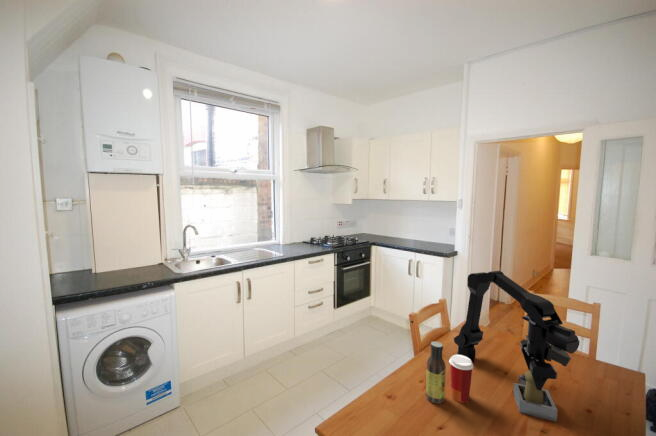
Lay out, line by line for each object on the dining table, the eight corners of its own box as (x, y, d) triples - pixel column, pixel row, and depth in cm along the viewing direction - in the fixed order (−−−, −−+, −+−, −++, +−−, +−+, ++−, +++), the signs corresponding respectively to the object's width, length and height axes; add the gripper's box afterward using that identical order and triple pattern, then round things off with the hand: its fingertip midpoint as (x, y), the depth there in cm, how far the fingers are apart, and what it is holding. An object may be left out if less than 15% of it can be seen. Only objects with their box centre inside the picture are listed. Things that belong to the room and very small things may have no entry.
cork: (537, 397, 100) (538, 367, 99) (548, 410, 94) (550, 378, 93) (519, 396, 101) (519, 367, 100) (529, 409, 95) (530, 378, 94)
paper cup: (470, 392, 104) (471, 355, 103) (473, 407, 97) (475, 368, 96) (447, 387, 107) (448, 352, 105) (448, 402, 99) (449, 363, 98)
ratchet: (519, 415, 95) (520, 401, 94) (508, 380, 112) (509, 368, 112) (556, 424, 91) (557, 410, 90) (539, 387, 108) (540, 375, 108)
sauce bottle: (445, 406, 97) (447, 350, 96) (425, 402, 99) (427, 347, 97) (443, 394, 103) (445, 341, 102) (425, 390, 105) (427, 338, 103)
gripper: (580, 357, 83) (576, 407, 85) (558, 329, 100) (555, 371, 102) (534, 349, 88) (531, 397, 89) (520, 323, 105) (518, 364, 106)
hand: (535, 381), depth 96 cm, fingers open, 9 cm apart
